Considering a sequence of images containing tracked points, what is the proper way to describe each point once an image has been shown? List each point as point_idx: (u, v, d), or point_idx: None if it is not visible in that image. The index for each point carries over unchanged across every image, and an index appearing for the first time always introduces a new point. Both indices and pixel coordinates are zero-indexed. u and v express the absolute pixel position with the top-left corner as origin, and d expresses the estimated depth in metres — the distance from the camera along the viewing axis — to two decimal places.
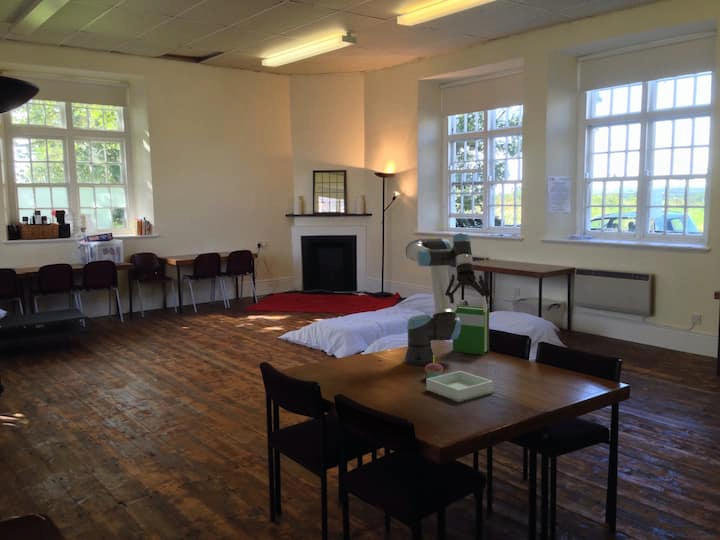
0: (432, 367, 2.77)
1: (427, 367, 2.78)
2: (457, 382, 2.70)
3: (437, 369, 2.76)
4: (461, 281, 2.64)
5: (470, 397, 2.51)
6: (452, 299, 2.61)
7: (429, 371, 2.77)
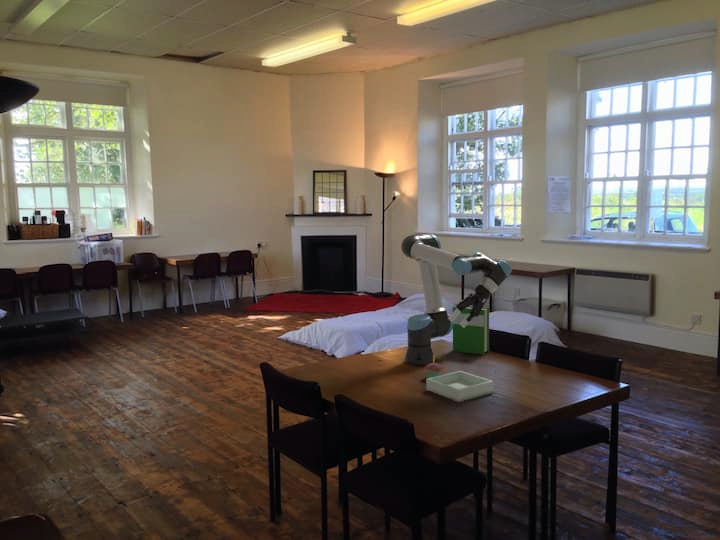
0: (432, 367, 2.77)
1: (427, 367, 2.78)
2: (457, 382, 2.70)
3: (437, 369, 2.76)
4: None
5: (470, 397, 2.51)
6: None
7: (429, 371, 2.77)
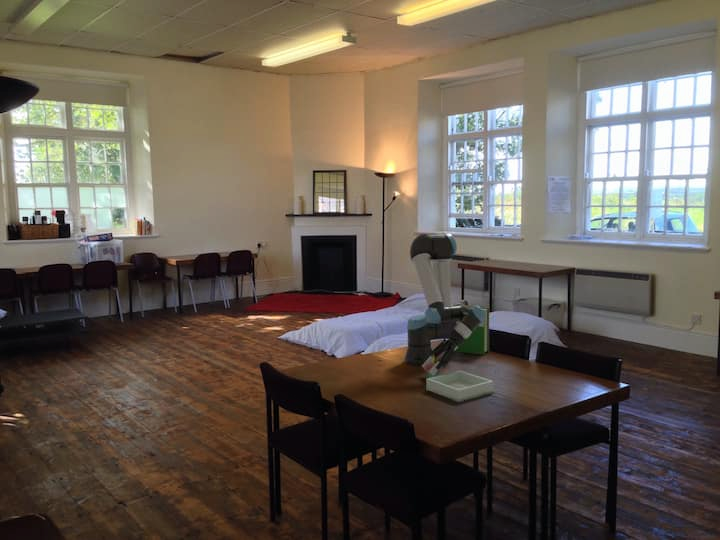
0: None
1: (427, 367, 2.78)
2: (457, 382, 2.70)
3: None
4: None
5: (470, 397, 2.51)
6: None
7: None
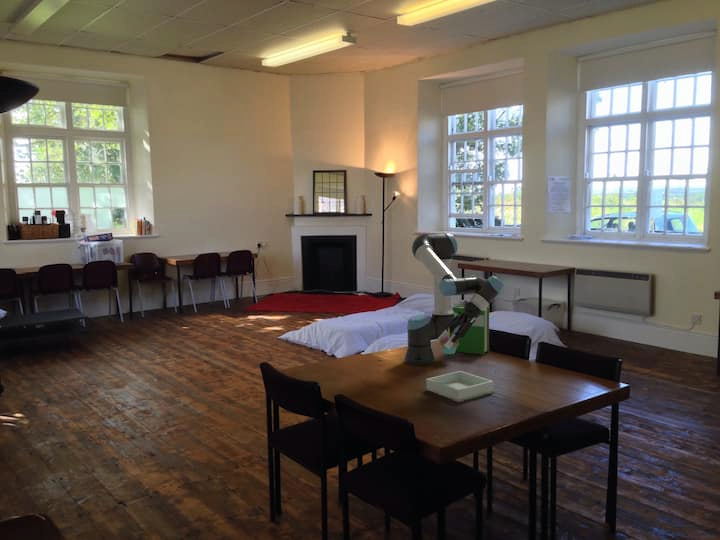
0: None
1: (442, 341, 2.65)
2: (457, 382, 2.70)
3: None
4: None
5: (470, 397, 2.51)
6: None
7: None
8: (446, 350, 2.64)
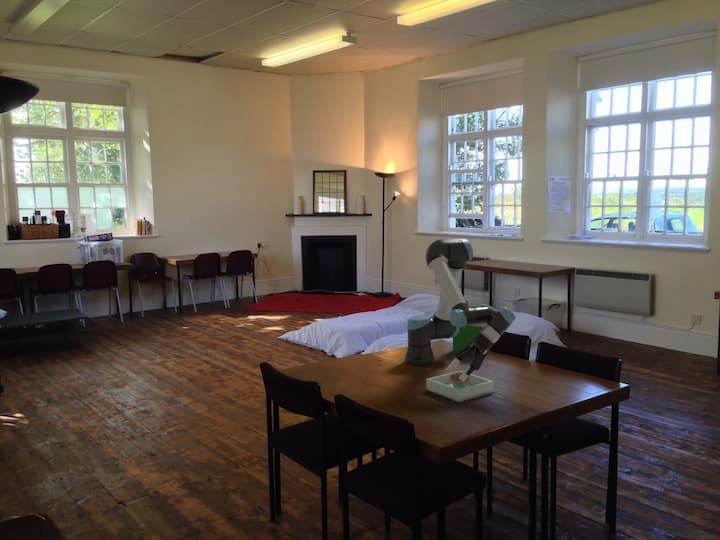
0: (458, 377, 2.57)
1: (452, 377, 2.59)
2: None
3: None
4: None
5: (470, 397, 2.51)
6: None
7: (454, 381, 2.57)
8: (456, 387, 2.59)
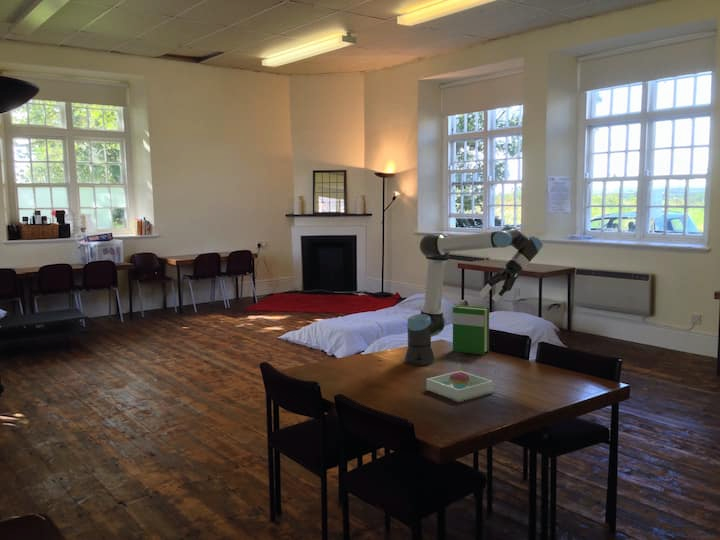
0: (458, 377, 2.57)
1: (452, 377, 2.59)
2: None
3: (463, 379, 2.57)
4: None
5: (470, 397, 2.51)
6: None
7: (454, 381, 2.57)
8: (456, 387, 2.59)
